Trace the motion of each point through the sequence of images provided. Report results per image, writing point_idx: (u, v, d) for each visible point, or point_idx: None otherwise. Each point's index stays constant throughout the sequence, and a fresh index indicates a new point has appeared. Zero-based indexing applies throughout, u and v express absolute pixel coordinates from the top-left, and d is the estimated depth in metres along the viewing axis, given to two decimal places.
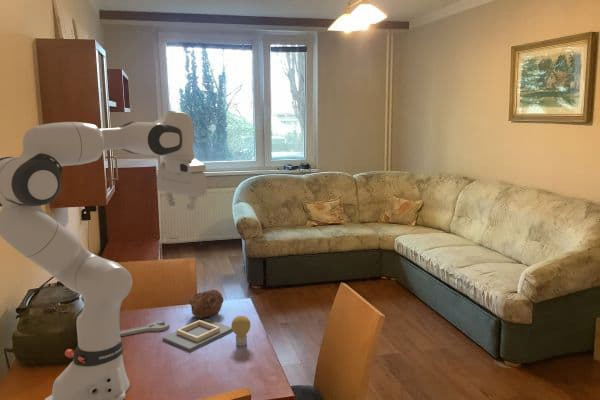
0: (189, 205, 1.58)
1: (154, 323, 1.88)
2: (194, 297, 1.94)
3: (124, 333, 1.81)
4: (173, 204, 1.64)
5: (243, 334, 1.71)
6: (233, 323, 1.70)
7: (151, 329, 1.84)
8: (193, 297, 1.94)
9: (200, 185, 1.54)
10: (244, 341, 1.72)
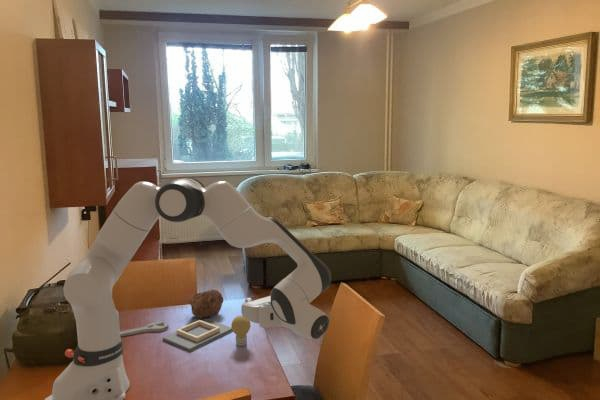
0: (248, 299, 1.56)
1: (153, 323, 1.87)
2: (194, 297, 1.94)
3: (123, 334, 1.80)
4: (271, 294, 1.62)
5: (243, 334, 1.71)
6: (233, 323, 1.70)
7: (150, 330, 1.83)
8: (193, 297, 1.94)
9: (247, 312, 1.48)
10: (244, 341, 1.72)
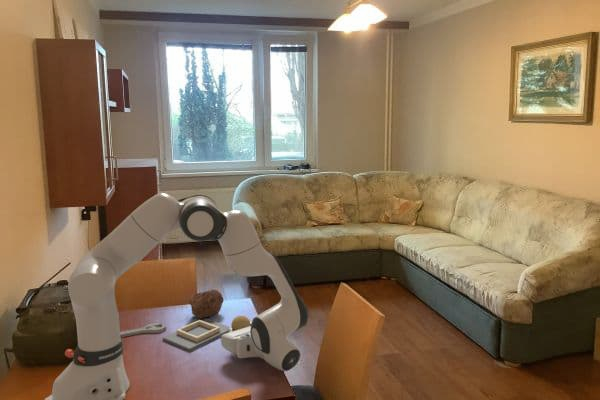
0: (230, 329, 1.69)
1: (151, 325, 1.86)
2: (194, 297, 1.94)
3: (120, 335, 1.79)
4: None
5: None
6: (233, 323, 1.70)
7: (148, 331, 1.82)
8: (193, 297, 1.94)
9: (226, 342, 1.61)
10: None
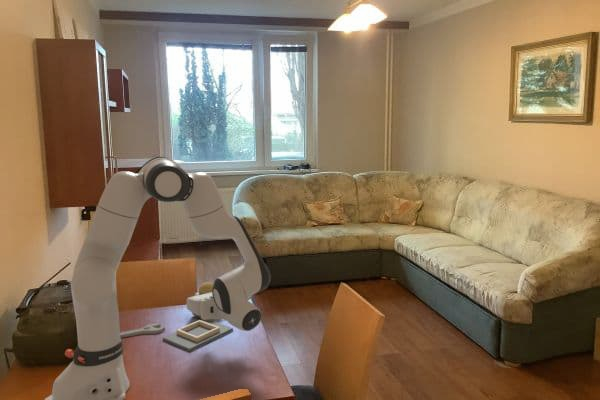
0: (197, 293, 1.72)
1: (150, 325, 1.86)
2: None
3: None
4: None
5: None
6: (200, 288, 1.73)
7: (146, 331, 1.82)
8: None
9: (190, 305, 1.64)
10: None
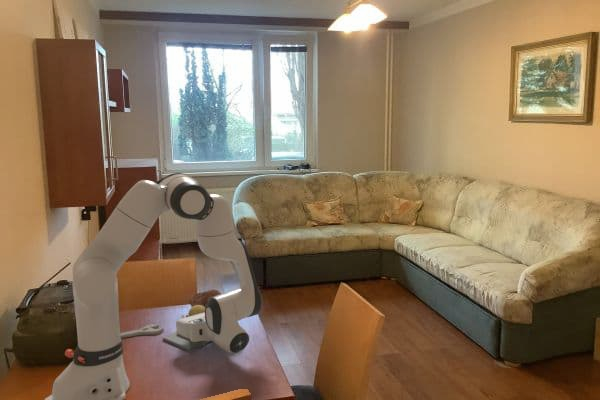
0: (184, 315, 1.75)
1: (148, 326, 1.85)
2: (194, 297, 1.94)
3: None
4: None
5: None
6: (190, 312, 1.77)
7: (145, 332, 1.81)
8: (193, 297, 1.94)
9: (180, 327, 1.67)
10: None
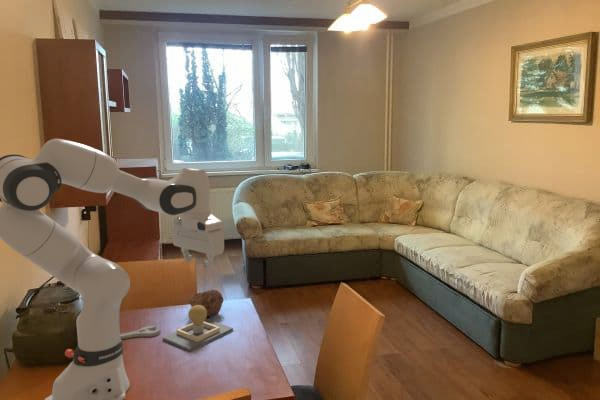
0: (207, 262, 1.55)
1: (145, 328, 1.84)
2: (194, 297, 1.94)
3: None
4: (189, 259, 1.62)
5: (199, 322, 1.77)
6: (190, 312, 1.77)
7: (141, 334, 1.80)
8: (193, 297, 1.94)
9: (218, 243, 1.52)
10: (200, 329, 1.79)
